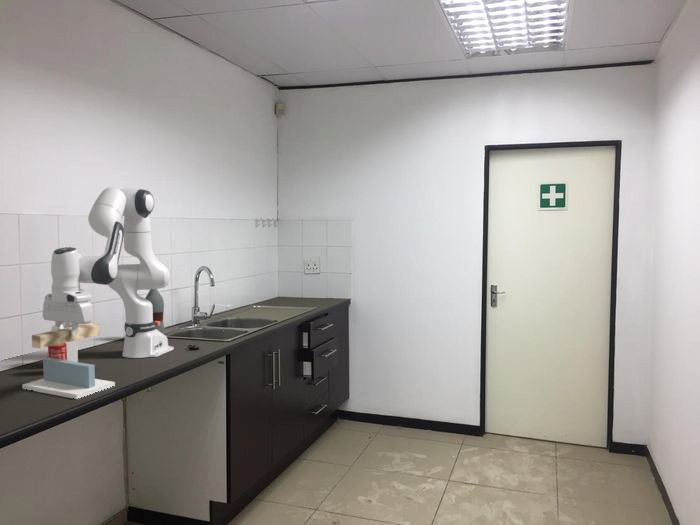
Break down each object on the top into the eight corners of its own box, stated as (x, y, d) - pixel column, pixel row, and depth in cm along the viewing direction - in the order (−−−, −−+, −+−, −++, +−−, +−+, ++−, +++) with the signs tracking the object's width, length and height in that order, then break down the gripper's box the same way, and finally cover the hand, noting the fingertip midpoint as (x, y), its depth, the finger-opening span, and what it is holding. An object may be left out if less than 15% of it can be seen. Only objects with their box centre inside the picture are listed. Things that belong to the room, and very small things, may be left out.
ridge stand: (62, 377, 216) (61, 353, 215) (114, 386, 205) (114, 361, 204) (22, 388, 201) (21, 363, 200) (76, 399, 191) (76, 372, 190)
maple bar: (40, 348, 190) (40, 336, 190) (32, 347, 192) (31, 335, 191) (99, 334, 212) (99, 323, 212) (91, 333, 213) (91, 322, 213)
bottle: (168, 338, 283) (167, 277, 281) (157, 342, 275) (156, 279, 272) (151, 337, 286) (150, 276, 283) (140, 341, 277) (139, 278, 274)
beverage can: (62, 369, 227) (61, 338, 226) (70, 372, 223) (69, 341, 222) (46, 372, 222) (44, 341, 221) (53, 375, 218) (52, 343, 217)
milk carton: (59, 368, 228) (58, 320, 227) (52, 364, 233) (50, 317, 232) (78, 364, 234) (76, 317, 232) (70, 361, 238) (69, 315, 237)
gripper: (37, 294, 202) (38, 333, 203) (79, 298, 194) (81, 339, 195) (52, 292, 208) (54, 330, 209) (95, 295, 199) (96, 335, 200)
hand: (67, 334), depth 202 cm, fingers closed on maple bar, 4 cm apart
